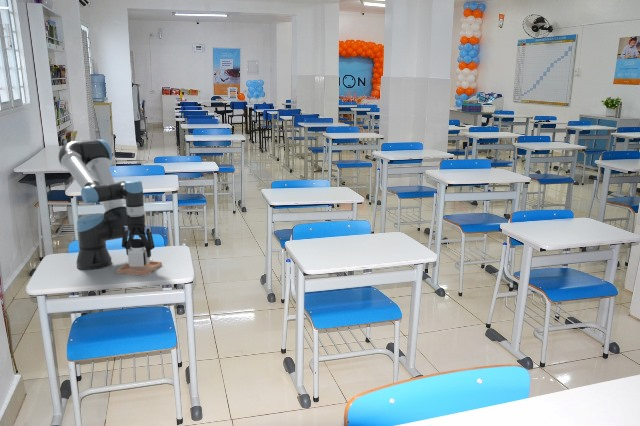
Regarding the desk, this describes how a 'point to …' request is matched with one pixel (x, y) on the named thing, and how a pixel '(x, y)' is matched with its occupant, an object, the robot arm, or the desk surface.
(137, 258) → the medicine bottle
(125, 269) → the tray
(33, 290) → the desk surface
